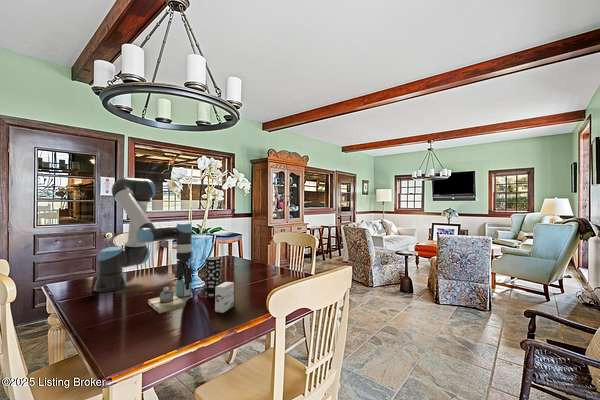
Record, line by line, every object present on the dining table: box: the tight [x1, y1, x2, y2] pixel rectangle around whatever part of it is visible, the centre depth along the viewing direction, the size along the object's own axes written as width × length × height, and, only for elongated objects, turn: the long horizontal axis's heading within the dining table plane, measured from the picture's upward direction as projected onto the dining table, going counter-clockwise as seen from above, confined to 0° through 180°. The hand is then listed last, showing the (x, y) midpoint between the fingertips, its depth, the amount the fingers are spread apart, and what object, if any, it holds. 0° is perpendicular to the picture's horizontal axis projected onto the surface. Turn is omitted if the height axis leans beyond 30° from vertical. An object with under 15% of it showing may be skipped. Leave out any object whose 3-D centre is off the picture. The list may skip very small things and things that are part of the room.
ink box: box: [214, 281, 235, 314], centre depth 131 cm, size 9×5×12 cm, turn 158°
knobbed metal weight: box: [159, 286, 174, 303], centre depth 135 cm, size 6×6×6 cm
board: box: [147, 293, 186, 314], centre depth 135 cm, size 16×12×2 cm
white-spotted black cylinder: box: [204, 256, 222, 299], centre depth 149 cm, size 8×8×20 cm
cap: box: [174, 279, 193, 298], centre depth 150 cm, size 8×8×7 cm
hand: (183, 293), depth 150 cm, fingers closed on cap, 8 cm apart
